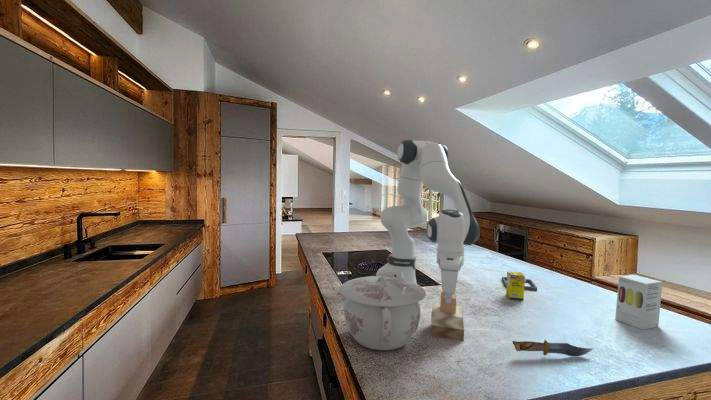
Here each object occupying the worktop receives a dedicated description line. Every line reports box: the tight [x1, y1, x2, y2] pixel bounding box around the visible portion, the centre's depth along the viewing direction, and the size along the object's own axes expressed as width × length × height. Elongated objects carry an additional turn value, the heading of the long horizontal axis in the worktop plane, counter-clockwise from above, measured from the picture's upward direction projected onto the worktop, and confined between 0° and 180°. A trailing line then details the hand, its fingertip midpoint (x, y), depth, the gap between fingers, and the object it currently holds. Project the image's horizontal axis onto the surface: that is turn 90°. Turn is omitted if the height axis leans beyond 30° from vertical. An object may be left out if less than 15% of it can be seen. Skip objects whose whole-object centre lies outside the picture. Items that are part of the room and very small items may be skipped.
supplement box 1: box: [505, 270, 526, 301], centre depth 146 cm, size 6×6×11 cm
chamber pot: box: [339, 275, 427, 351], centre depth 106 cm, size 28×28×21 cm
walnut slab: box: [431, 323, 465, 342], centre depth 113 cm, size 10×10×4 cm
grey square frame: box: [501, 276, 538, 291], centre depth 164 cm, size 14×14×2 cm
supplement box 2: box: [614, 274, 663, 331], centre depth 122 cm, size 10×9×17 cm
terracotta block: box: [440, 291, 457, 314], centre depth 112 cm, size 5×5×5 cm
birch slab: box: [430, 302, 464, 329], centre depth 113 cm, size 10×10×4 cm
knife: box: [511, 339, 593, 358], centre depth 98 cm, size 25×1×5 cm, turn 92°
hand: (448, 298), depth 112 cm, fingers open, 6 cm apart
